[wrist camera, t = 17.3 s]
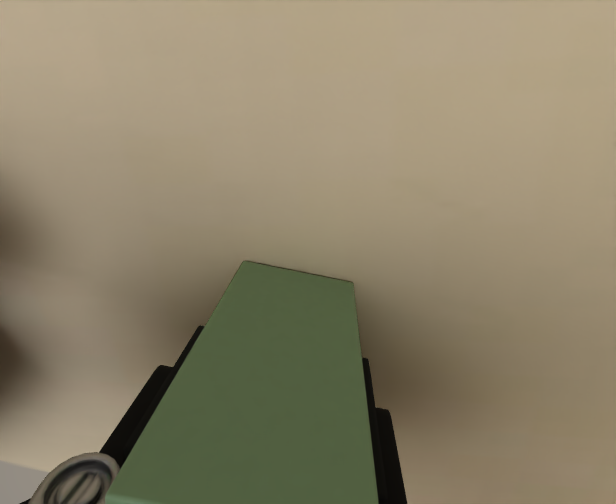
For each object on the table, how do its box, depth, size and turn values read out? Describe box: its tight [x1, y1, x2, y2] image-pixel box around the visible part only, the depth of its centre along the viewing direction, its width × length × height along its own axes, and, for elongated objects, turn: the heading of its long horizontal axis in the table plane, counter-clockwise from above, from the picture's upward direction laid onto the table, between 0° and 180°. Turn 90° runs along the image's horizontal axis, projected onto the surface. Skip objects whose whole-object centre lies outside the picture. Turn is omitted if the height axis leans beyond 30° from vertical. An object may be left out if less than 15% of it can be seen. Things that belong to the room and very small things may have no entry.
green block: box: [105, 261, 379, 504], centre depth 9 cm, size 6×4×7 cm, turn 169°
